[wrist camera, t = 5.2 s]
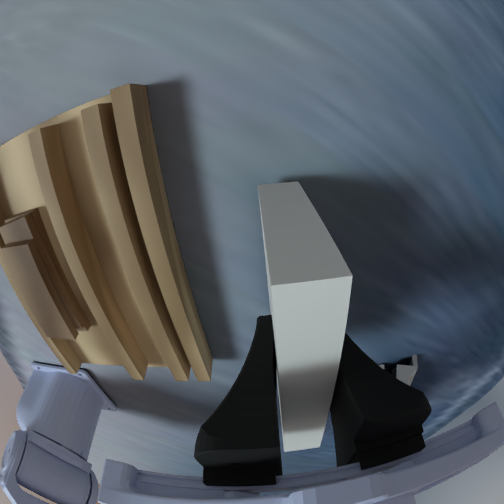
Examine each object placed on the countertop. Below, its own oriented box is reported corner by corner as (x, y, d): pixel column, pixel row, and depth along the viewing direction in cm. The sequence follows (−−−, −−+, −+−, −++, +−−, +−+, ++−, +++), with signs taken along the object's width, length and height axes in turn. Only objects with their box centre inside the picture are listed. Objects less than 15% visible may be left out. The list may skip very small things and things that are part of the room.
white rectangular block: (274, 350, 20) (284, 451, 13) (257, 185, 14) (271, 285, 7) (301, 346, 19) (319, 446, 13) (298, 181, 13) (352, 275, 7)
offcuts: (60, 324, 19) (50, 341, 17) (8, 216, 14) (-9, 230, 12) (94, 325, 19) (84, 344, 17) (41, 206, 14) (22, 220, 12)
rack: (77, 355, 22) (68, 375, 20) (-13, 156, 12) (-36, 166, 10) (212, 358, 22) (210, 384, 20) (146, 85, 12) (126, 83, 10)
